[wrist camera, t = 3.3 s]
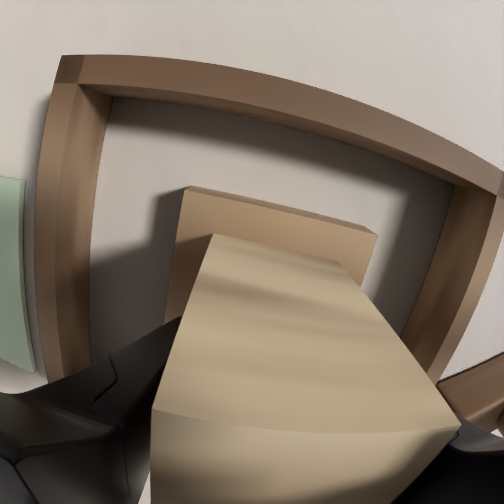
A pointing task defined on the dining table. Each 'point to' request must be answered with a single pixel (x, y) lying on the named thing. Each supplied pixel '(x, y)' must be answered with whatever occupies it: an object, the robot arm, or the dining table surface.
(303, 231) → the wooden rectangular frame
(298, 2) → the dining table surface
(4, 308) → the green mat
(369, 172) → the dining table surface
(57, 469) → the robot arm
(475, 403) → the wooden block structure
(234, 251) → the beech block
